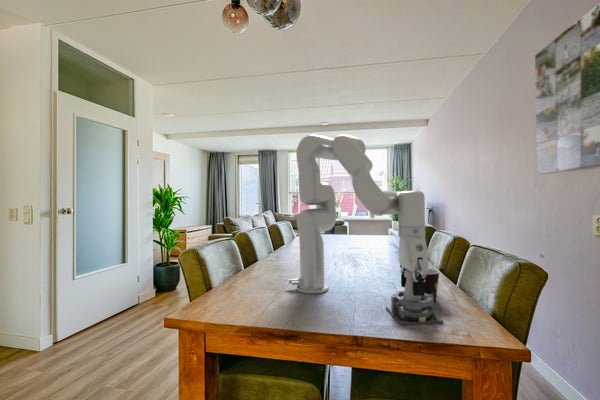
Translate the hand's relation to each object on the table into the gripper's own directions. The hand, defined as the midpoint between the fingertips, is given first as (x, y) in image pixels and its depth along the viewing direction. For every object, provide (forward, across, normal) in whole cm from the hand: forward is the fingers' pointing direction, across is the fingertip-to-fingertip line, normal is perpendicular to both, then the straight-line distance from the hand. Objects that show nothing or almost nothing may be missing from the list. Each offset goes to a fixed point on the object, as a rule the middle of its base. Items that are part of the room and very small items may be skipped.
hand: (412, 290), depth 86 cm
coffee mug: (+8, +13, -12) cm, 19 cm away
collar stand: (+8, 0, 0) cm, 8 cm away
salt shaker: (+7, 0, 0) cm, 7 cm away
